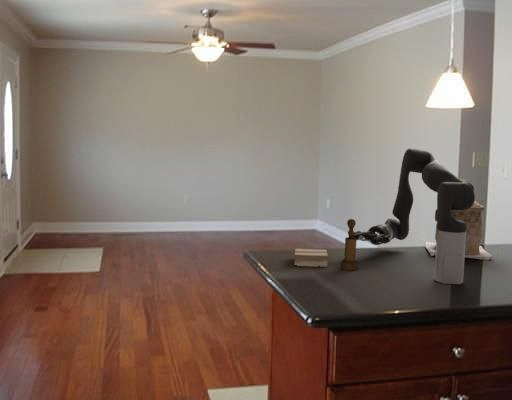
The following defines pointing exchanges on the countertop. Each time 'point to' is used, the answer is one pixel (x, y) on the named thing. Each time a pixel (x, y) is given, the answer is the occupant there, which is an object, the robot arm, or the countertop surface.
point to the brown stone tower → (467, 231)
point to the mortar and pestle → (350, 249)
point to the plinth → (311, 257)
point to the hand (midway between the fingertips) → (363, 239)
